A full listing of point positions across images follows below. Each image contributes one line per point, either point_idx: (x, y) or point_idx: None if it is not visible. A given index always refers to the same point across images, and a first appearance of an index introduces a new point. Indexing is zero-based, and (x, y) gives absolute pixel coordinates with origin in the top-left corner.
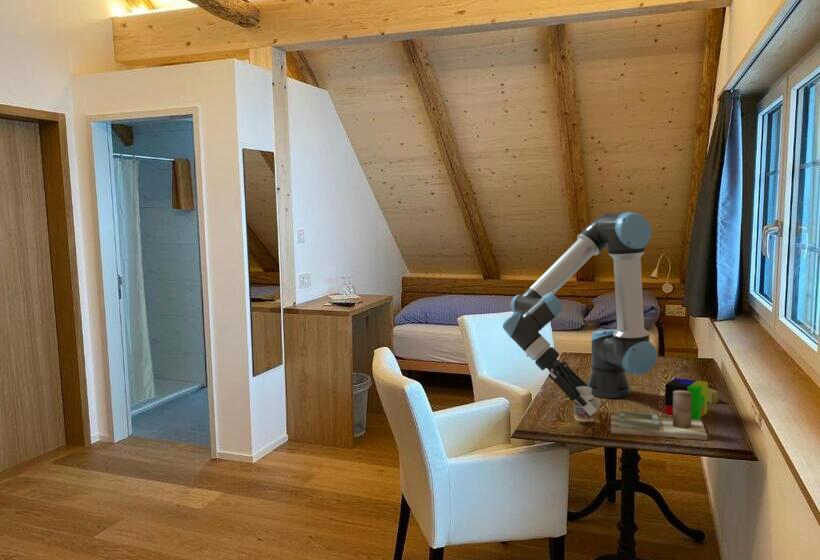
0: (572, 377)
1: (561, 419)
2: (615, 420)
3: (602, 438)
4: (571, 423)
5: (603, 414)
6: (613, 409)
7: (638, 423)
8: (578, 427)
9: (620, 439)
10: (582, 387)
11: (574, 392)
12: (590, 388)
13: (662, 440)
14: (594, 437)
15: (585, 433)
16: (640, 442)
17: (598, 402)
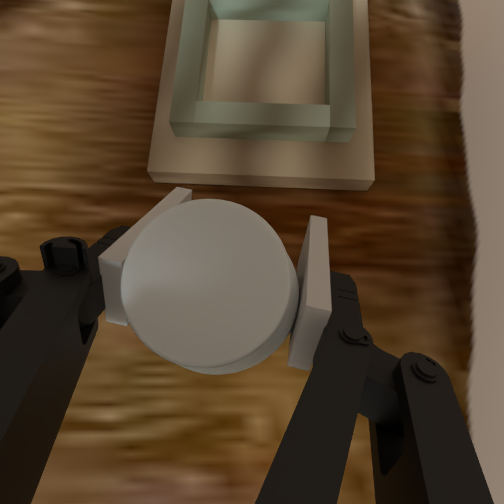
0: (4, 449)
1: (190, 433)
2: (247, 155)
3: (450, 227)
4: (254, 373)
5: (86, 212)
6: (4, 166)
7: (353, 54)
8: None
9: (438, 156)
10: (183, 291)
11: (452, 390)
12: (217, 208)
13: (401, 21)
14: (448, 261)
15: (401, 302)
16: (450, 89)
17: (185, 198)
